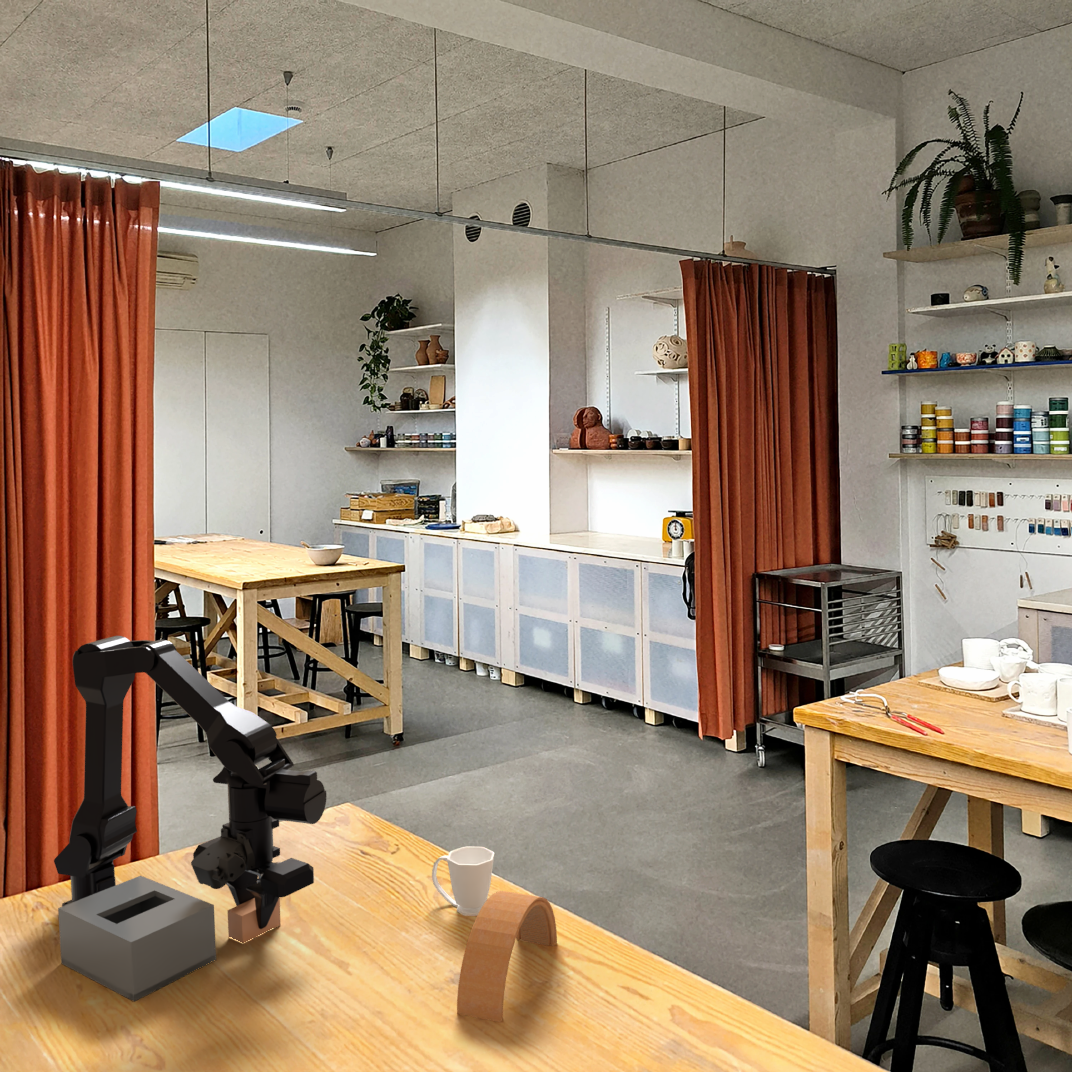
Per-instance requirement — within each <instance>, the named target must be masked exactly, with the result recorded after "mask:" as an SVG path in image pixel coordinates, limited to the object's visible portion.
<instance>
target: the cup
mask: <svg viewBox="0 0 1072 1072" xmlns="http://www.w3.org/2000/svg"><path fill="white" fill-rule="evenodd" d="M441 860H442V861H445V862H447V867H448V872H449V873H448V874H449V877H450V883H451V884H450V885H451V890H452V894H453V897H451V896H450V895H449V894H448V893H447V892H446V891H445V889H443V887H442V886H441V885H440V883H439V881H438V877H437V870H438V866H439V863H440V862H441ZM494 861H495V852H494V851H493V850H491V849H489V848H486V847H484V846H469V845H468V846H462V847H460V848H459V847H458V848H456V849H453V850H450V851H449V853H448V855H442V856H440V857H438V858H437V859H436V860H435V861H434V863H433V865H432V866H433V867H432V869H431V870H432V871H431V880H432V883H433V885H434V888H435V889H436V890H437V892H438V893H439V894H440V895H441V896H442V898H444V899H445V900H446V901H447V902H448V903H449V904H451V905H452V906H453V907H456V912H457V913H459V914H460V915H462V916H464V917H465V916H466V917H468V916H469V917H477V915H478V913H479V912H480V910H481V908H482V906H483V905H484V903H485V902H486V901H487V899H488V898H489V893H490V888H491V882H492V874H493V868H494ZM453 898H454V899H453Z"/></svg>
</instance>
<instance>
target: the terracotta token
mask: <svg viewBox="0 0 1072 1072" xmlns="http://www.w3.org/2000/svg"><path fill="white" fill-rule="evenodd" d="M280 899H281V897H279V899H278V901H277V904H276V906H275V908H274V910H273V913H272V915H271V917H270V919H269V922H268V924H267V926H266V927H265V928H263V929H259V927H258V922H257V916H256V906H255V898H253V899H251V900H249V901H247V902H244V903H242V904H240V905H238V906H236V905H235V906H233V907H232V908H229V909H227V929H228V930H227V931H228V932H227V933H228V934H227V935H228V938H229V937H232V938H233V939H236V940H238V941H240V942H242V943H244V942H246V941H248V940H250V939H252V938H255V937H256V936H258V935H260V934H262V933H264V932H266V931H268V930H270V929H272V928H275V927H277V926H279V925H281V905H280V904H281V901H280ZM279 927H280V926H279ZM277 928H278V927H277ZM275 929H276V928H275ZM255 939H256V938H255Z"/></svg>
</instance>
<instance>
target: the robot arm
mask: <svg viewBox="0 0 1072 1072" xmlns="http://www.w3.org/2000/svg"><path fill="white" fill-rule="evenodd" d="M72 670H73V671H72V672H73V677H74V685H75V687H76V689H77V690H78V692H79V693H80V696H82V699H83V700H84V703H85V729H84V730H85V731H84V732H85V733H84V737H85V738H84V771H83V772H84V774H83V776H84V777H83V778H84V779H83V780H84V781H83V782H84V783H83V784H84V785H83V799H82V802H81V804H80V806H79V807H78V809H77V810H76V814H75V815H74V817H73V819H72V821H71V822H72V823H71V829H70V834H69V838H68V844H67V845H66V846H65V847H64V848H63V849H62V850H61V852H59V854H58V855H57V856H56V857H54V859H53V863H54V866H55V869H56V872H57V874H58V875H63V876H64V875H65V876H70V887H71V889H70V893H71V899H70V900H68V901H67V900H66V901H64V902H63V903H61V907H62V906H65V905H67V904H70V903H73V902H75V901H78V900H80V899H83V898H85V897H88V896H90V895H93V894H95V893H98V892H100V891H103V890H105V889H108V888H110V887H113V886H115V885H117V883H116V876H115V875H116V874H115V864H114V860H116V859H118V858H120V857H122V856H125V854H126V851H127V847H128V844H130V843H131V842H132V840H133V836H134V834H135V833H137V832H138V828H137V826H136V816H137V808H136V806H135V805H132V806H131V805H128V803H127V802H126V800H125V799H124V797H123V795H122V768H123V767H122V766H123V732H124V731H123V726H124V724H123V723H124V722H123V721H124V701H125V698H126V696H127V694H128V692H129V691H130V688H131V686H132V684H133V683H134V680H135V677H136V674H139V673H145V674H146V675H147V676H148V677H149V678H150V679H151V680H152V681H153V682H154V683H156V685H157V686H159V688H161V689H162V690H163V691H164V692H165V693H166V694H167V695H168V696H169V697H170V699H172V700H173V701H174V703H176V704H177V705H178V706H179V707H180V708H181V709H182V710H183V711H184V712H185V713H186V714H188V716H190V717H191V719H192V720H193V721H195V723H197V725H199V726H200V728H201V729H202V730H203V731H204V733H205V735H206V738H207V742H208V746H209V748H210V750H211V751H212V753H213V754H214V756H215V757H216V758H217V759H218V761H219V762H220V763H221V765H222V766H223V768H222V769H221V771H220V772H219V773H218V774H217V775H216V776H214V777H213V778H212V782H213V783H215V784H222V785H227V800H228V801H227V803H228V804H227V805H228V822H227V823H224V824H222V827H221V828H220V836H218V837H216V838H213V839H211V840H208V841H205V842H203V843H200V844H198V845H197V847H196V848H195V850H194V852H193V853H192V855H193V857H192V858H193V859H192V860H191V862H190V864H191V866H192V869H193V872H194V875H195V877H196V879H197V882H198V883H199V884H200V885H206V886H208V887H210V888H211V889H214V890H219V889H221V888H223V887H225V885H226V886H227V887H228V889H229V891H230V893H231V896H232V898H233V901H234V904H235V907H236V906H238V905H240V904H242V903H244V902H247V901H249V900H251V899H253V898H255V906H256V916H257V922H258V927H259V929H263V928H265V927H266V926H267V924H268V922H269V919H270V917H271V915H272V913H273V910H274V908H275V906H276V904H277V901H278V899H279V898H286V897H288V896H290V895H292V894H295V893H296V892H298V891H300V890H302V889H305V888H306V887H309V886H311V885H313V884H314V883H315V877H314V875H315V873H314V872H315V871H314V869H315V868H314V867H313V866H312V865H311V864H309V863H308V862H305V861H302V860H299V859H296V858H293V857H290V858H288V859H285V860H283V861H277V862H274V861H273V859H274V858H277V857H279V856H281V848H280V847H277V846H275V845H274V832H273V830H274V829H276V828H278V827H280V821H284V822H293V823H300V824H301V823H302V824H308V825H314V824H316V823H318V822H319V821H320V819H321V818H322V816H323V815H324V812H325V809H326V806H327V805H326V804H327V790H326V789H325V786H324V784H323V782H322V780H321V781H320V780H319V779H318V772H317V771H315V770H292V768H293V767H294V762H293V761H292V759H291V757H290V756H289V755H288V753H287V751H286V750H285V749H284V747H283V746H282V744H281V743H280V741H279V740H278V738H277V736H278V735H277V732H276V730H275V729H274V727H273V726H272V725H271V724H270V723H269V722H268V721H265V720H264V719H263V718H261V717H260V716H258V714H256V713H254V712H252V711H251V710H247V709H244V708H242V707H239V706H236V705H235V704H233V703H232V702H231V701H229V700H228V699H227V697H225V696H224V695H223V694H222V693H221V692H220V691H219V690H218V689H217V688H215V687H214V685H212V683H210V682H209V680H207V679H206V678H205V676H203V675H202V674H201V673H199V671H198V670H197V669H196V668H195V667H193V665H191V663H189V662H188V661H187V660H186V659H185V658H184V657H183V656H182V655H181V654H180V653H179V652H178V651H177V648H176V646H175V645H174V643H173V642H171V641H169V640H166V639H158V640H148V639H141V640H130V639H129V638H127V637H125V636H124V635H123V636H122V635H114V636H111V637H110V636H109V637H106V638H102V639H99V640H95V641H91V642H88V643H87V642H86V643H84V644H81V646H79V648H77V650H75V651H74V652H73V655H72ZM267 760H269V761H270V762H269V763H267V764H265V765H263V766H261V767H259V768H258V767H257V766H258V765H260V764H261V763H263V762H265V761H267Z"/></svg>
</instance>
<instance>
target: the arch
mask: <svg viewBox="0 0 1072 1072" xmlns="http://www.w3.org/2000/svg"><path fill="white" fill-rule="evenodd" d="M475 917H476V918H475V920H474V923H473V925H472V927H471V930H470V932H469V936H468V937H467V941H466V946H465V950H464V953H463V957H462V961H461V967H460V972H459V980H458V986H457V996H456V997H457V1000H456V1014H459V1015H461V1016H462V1015H464V1016H468V1017H473V1018H477V1019H483V1020H487V1021H493V1022H497V1023H502V1022H503V1020H504V1000H505V991H506V981H507V976H508V971H509V965H510V962H511V957H512V953H513V949H514V947H515V942H516V940H517V941H521V942H525V943H531V944H537V945H543V946H548V947H549V946H551V947H555V946H556V945H557V944H558V936H557V924H556V917H555V912H554V910H553V907H552V904H551V903H550V902H549V900H548V899H547V898H546V897H542V896H536V895H532V894H531V895H530V894H523V893H517V892H511V891H504V890H498V891H496V892H494V893H492V894H491V895H490V896H488V897H487V901H486V902H485V903H484V905H483V906H482V908H481V910H480V912H479V913H478V915H477V916H475Z"/></svg>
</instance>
